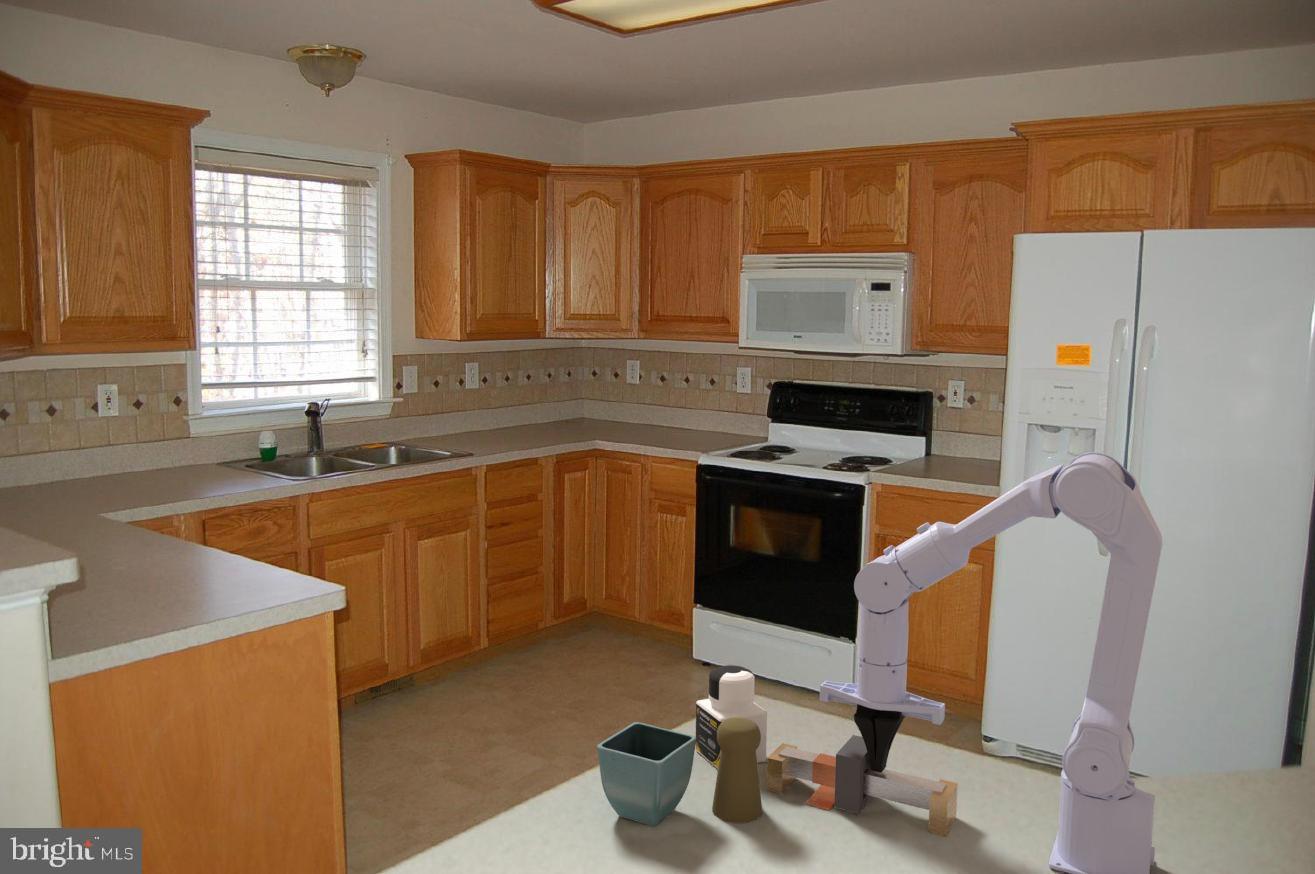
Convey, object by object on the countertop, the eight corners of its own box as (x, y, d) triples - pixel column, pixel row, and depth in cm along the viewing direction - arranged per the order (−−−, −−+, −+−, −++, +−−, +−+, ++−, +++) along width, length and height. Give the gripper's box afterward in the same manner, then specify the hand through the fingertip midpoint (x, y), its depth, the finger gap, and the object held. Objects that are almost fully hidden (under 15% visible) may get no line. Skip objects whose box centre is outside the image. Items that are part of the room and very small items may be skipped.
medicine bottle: (694, 750, 133) (695, 665, 131) (740, 741, 136) (741, 658, 134) (719, 772, 126) (721, 682, 125) (767, 762, 129) (769, 674, 128)
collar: (874, 791, 120) (876, 739, 120) (858, 813, 115) (860, 759, 114) (851, 785, 122) (853, 734, 121) (834, 807, 116) (835, 754, 116)
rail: (958, 813, 116) (959, 776, 115) (944, 840, 110) (945, 801, 109) (784, 771, 127) (785, 737, 126) (763, 793, 121) (764, 757, 120)
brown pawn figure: (760, 825, 113) (762, 734, 112) (708, 819, 114) (709, 729, 113) (765, 801, 119) (767, 713, 117) (715, 795, 120) (717, 709, 119)
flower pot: (634, 789, 121) (635, 719, 120) (697, 807, 117) (698, 735, 116) (594, 819, 114) (594, 745, 113) (659, 839, 109) (660, 763, 108)
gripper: (952, 659, 115) (947, 769, 117) (834, 638, 122) (831, 742, 124) (938, 677, 109) (933, 793, 110) (814, 654, 116) (811, 764, 118)
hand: (878, 768), depth 117 cm, fingers closed
